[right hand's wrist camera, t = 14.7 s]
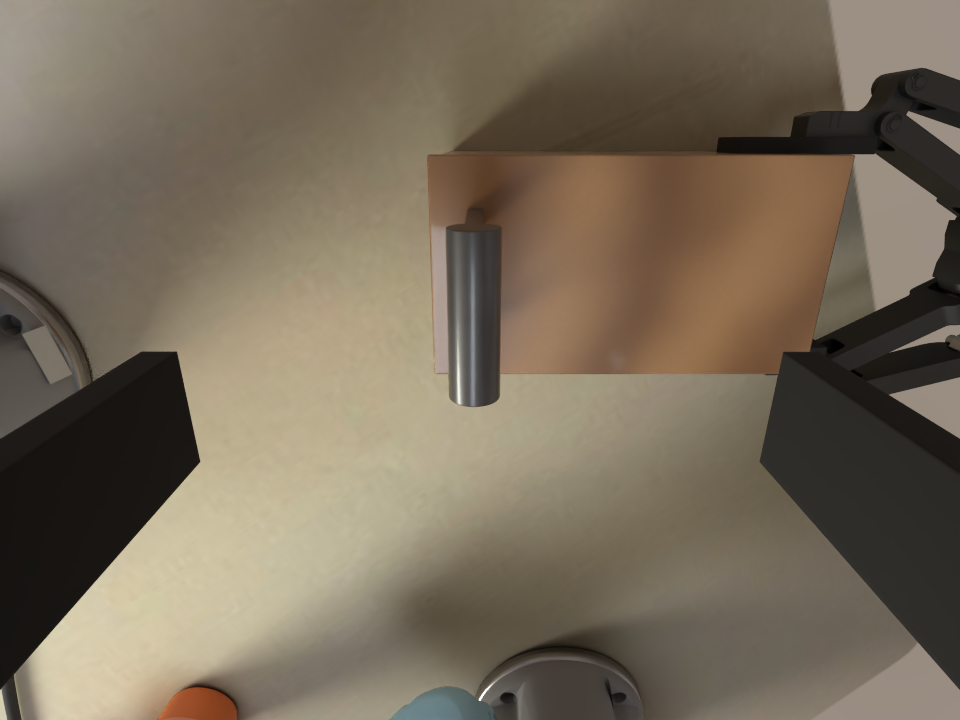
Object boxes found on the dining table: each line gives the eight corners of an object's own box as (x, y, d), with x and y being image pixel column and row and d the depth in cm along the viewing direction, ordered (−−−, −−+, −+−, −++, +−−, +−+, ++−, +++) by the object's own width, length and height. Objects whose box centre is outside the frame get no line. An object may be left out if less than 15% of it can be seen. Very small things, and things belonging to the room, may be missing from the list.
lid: (436, 364, 28) (417, 458, 20) (429, 154, 24) (404, 160, 16) (791, 364, 28) (923, 458, 20) (837, 154, 24) (1023, 160, 16)
